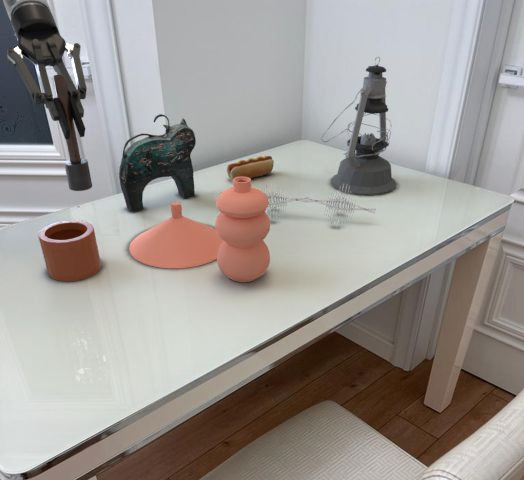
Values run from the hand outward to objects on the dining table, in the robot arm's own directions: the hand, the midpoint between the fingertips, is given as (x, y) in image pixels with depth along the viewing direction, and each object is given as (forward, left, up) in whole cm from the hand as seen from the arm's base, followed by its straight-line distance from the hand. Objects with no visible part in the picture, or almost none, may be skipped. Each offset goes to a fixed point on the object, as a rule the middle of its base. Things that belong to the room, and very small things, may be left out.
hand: (75, 133), depth 99 cm
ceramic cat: (+4, +29, -24) cm, 38 cm away
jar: (-2, -7, -24) cm, 25 cm away
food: (+22, +50, -24) cm, 60 cm away
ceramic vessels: (+21, +3, -24) cm, 32 cm away
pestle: (-3, +3, -11) cm, 12 cm away
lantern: (+51, +51, -24) cm, 76 cm away
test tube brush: (+40, +25, -24) cm, 53 cm away
